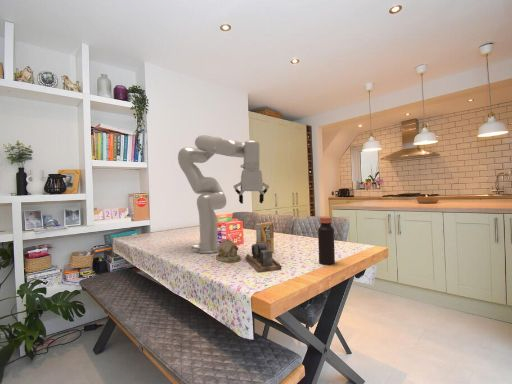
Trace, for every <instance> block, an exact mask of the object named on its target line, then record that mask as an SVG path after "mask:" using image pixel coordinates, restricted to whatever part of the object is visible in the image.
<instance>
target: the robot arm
mask: <svg viewBox="0 0 512 384" xmlns="http://www.w3.org/2000/svg"><path fill="white" fill-rule="evenodd" d="M194 145H195V147H193V146H192V147H191V146H189V147H188V146H187V147H183V148H181V149H179V151H178V154H177V161H178V165H179V168H180V169H181V171H182V172H183V174H184V175H185V177H186V179H187V181H188V183H189V185H190V187H191V189H192V191H193V192H194V194H196V195H198V197H197V199H196V205H197V206H196V207H197V211H198V218H199V219H198V220H199V243H197V244H192V245H191V249H195V250H197V252H198V253H199V254H215V253H218V251H219V250H217V248H218V246H219V242H218V241H219V238H218V236H219V235H218V234H219V233H218V217H217V214H216V212H215V210H222V209H224V208H225V207H226V205H227V197H226V195H225V193H224V190H223V189H222V187H221V185H220V183H219V182H218V180H217V179H216V178H215V177H212V176H204V175H203V173H202V170H200V168H199V167H198V166H197V165H196V164H203V163H206V162H208V161H209V160H210V159H211V158H212V157H213V156H215V155H220V156H225V157H226V156H227V157H233V158H241V159H242V158H243V164H240V168H243V169H242V170H241V175H240V182H238V183H237V184H234V185H233V188H234V191H235V192H236V194H237V195H238V202H239V203H240V204H241V205H242V204H244V195H243V194H244V192H258V193H259V201H258V202H259V203H260V204H263V202H265V201H264V200H265V199H264V198H265V197H264V195H266V193H267V192H268V190H269V188H270V186H269V185H268V183H267V184H266V183H265V182H263V173H262V170H260V143H259V141H257V140H245V141H244V142H242V141H238V140H229V139H223V138H221V137H218V136H212V135H211V136H210V135H205V134H202V135H199V136H197V137H196V138H195V141H194ZM195 163H196V164H195ZM238 187H240V190H239V189H238ZM263 188H264V189H263Z"/></svg>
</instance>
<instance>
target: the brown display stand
mask: <svg viewBox="0 0 512 384" xmlns="http://www.w3.org/2000/svg"><path fill="white" fill-rule="evenodd" d="M255 245H256V243H253V244H252V245H251V255H250V254H249V253H247V254H246V256H245V261H246V262H247V263H248V264H249V265H250V266H251V267H252V268H253V269H254V270H255V271H256V272H257V273H264V272H272V271H281V270H282V265H281V263H279V262H278V261H277V260H276V259H275V258H273V252H272V251H271V250H261V252H260V262H261V263H259V262H258V261H257V260H256V255H255Z"/></svg>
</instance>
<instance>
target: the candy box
mask: <svg viewBox="0 0 512 384" xmlns="http://www.w3.org/2000/svg"><path fill="white" fill-rule="evenodd" d="M274 235H275V233H274V222H271V221H269V222H260V223H256V224H255V236H256V237H255V238H256V239H255V240H256V241H255V243H256V242H262V241H265V242H266V243H268V245H269V250H271V251H272V253H274V252H275V242H274V241H275V240H274V238H275V237H274Z"/></svg>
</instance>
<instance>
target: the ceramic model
mask: <svg viewBox="0 0 512 384" xmlns="http://www.w3.org/2000/svg"><path fill="white" fill-rule="evenodd" d="M217 250H219V251H218V252H217V253H218V254H216V256H215V257H216V259H215V260H216V261H218V262H222V263H225V262H226V263H227V264H232V263H237V262H239V261H241V260H242V259H241V256H240V255H238V250H239V247H238V245H237V244H236V243H235V242H233V241H232V240H231V239H230V238H226V239H222V241H221V243H218V248H217ZM226 263H225V264H226Z"/></svg>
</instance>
